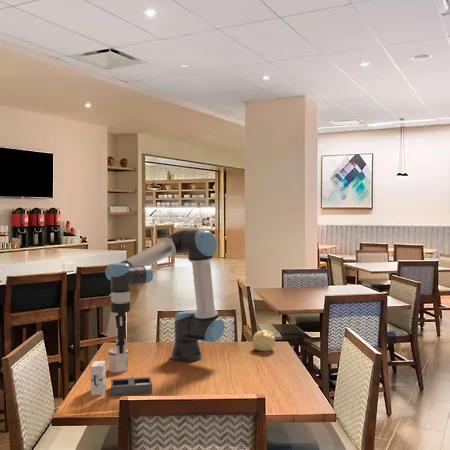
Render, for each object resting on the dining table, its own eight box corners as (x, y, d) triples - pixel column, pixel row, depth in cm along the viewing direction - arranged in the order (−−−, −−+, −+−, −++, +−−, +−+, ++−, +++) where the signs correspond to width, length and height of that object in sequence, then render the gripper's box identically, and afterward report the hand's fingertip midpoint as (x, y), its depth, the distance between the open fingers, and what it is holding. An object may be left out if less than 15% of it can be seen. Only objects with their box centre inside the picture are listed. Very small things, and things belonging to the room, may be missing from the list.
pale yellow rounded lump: (272, 353, 271) (273, 333, 271) (250, 351, 275) (250, 331, 274) (276, 348, 282) (277, 328, 282) (255, 346, 286) (255, 326, 285)
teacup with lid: (123, 374, 237) (123, 348, 236) (104, 372, 239) (104, 347, 239) (134, 366, 248) (134, 341, 248) (116, 364, 251) (116, 340, 250)
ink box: (93, 389, 217) (93, 360, 217) (106, 389, 217) (106, 360, 217) (90, 396, 208) (90, 366, 208) (103, 396, 209) (103, 366, 208)
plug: (126, 367, 216) (125, 334, 215) (126, 370, 212) (126, 337, 211) (116, 368, 215) (115, 335, 214) (116, 371, 211) (115, 337, 210)
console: (150, 386, 221) (150, 376, 221) (152, 394, 211) (152, 384, 211) (111, 388, 217) (111, 378, 217) (111, 397, 208) (111, 386, 208)
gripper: (110, 298, 220) (111, 354, 221) (111, 306, 203) (111, 366, 204) (129, 297, 221) (129, 352, 222) (130, 305, 205) (131, 364, 206)
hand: (121, 359), depth 213 cm, fingers closed on plug, 4 cm apart
